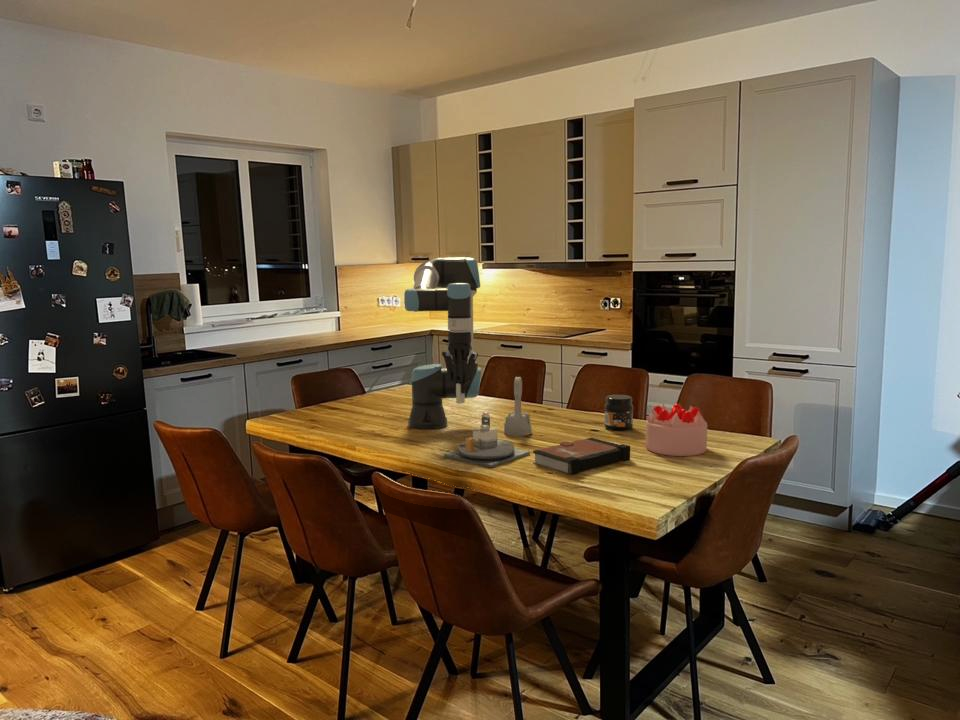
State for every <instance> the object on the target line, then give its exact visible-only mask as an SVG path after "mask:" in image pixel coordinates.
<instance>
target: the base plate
mask: <svg viewBox="0 0 960 720" xmlns="http://www.w3.org/2000/svg"><path fill="white" fill-rule="evenodd" d="M530 454H531V451H530V450H525V449H520V448H516V447H514V454H513V455H511V456H508V457H505V458H499V459H473V458H468V457H464V456H462V455H461V454H460V453H459V448H458V449H455V450H452V451H449V452H446V453H443V458H445V459H450V460H453V461H454V460H455V461H457V462H464V463H468V464H472V465H477V466H480V465H481V467H484V466H485V467H484V468H488V467H489V469H491V468H492V469H493V468H494V467H498V466H500V464H501V465H503V464H507V463H509V462H512V461H514V460H515V461H516V460H518V459H521V458H525V457H527V456H529V455H530ZM506 462H507V463H506Z"/></svg>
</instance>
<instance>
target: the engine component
mask: <svg viewBox="0 0 960 720" xmlns="http://www.w3.org/2000/svg"><path fill="white" fill-rule="evenodd" d="M514 377H515V378H514V381H513V395H514V412H509V413H508V416H507V417H505V423H504V424H503V426H504V427H503V429H504V430H503V432H504V434H505V435H508V436H528V435H530V434H532V422H531V419H530V418H531V417H530V415H531V414H529V413H527V412H522V394H523V380H522V377H521V376H514Z"/></svg>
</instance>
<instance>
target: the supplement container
mask: <svg viewBox="0 0 960 720" xmlns="http://www.w3.org/2000/svg"><path fill="white" fill-rule="evenodd" d="M632 397H633V396H631V395H628V394H627V395H626V394H609V395H607V396H606V397H605V402H606V403H605V405H604V427H605V429H607V430H608V431H609V430H610V431H614V432H625V431H630V430H631V429H632V428H633V427H634V424H633V422H634V420H633V416H634V415H633V414H634V406H633V405H634V404H632V403H633V398H632Z"/></svg>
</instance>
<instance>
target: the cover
mask: <svg viewBox="0 0 960 720" xmlns="http://www.w3.org/2000/svg"><path fill="white" fill-rule="evenodd" d="M472 438H475V447H476V448H493V447H496V446H497V445H498V441H497V439H498V429H497V428H495V427H494V428H493V427H490V428H489V425H482V424H481V425H479V427H477V428H473V430H472Z"/></svg>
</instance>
